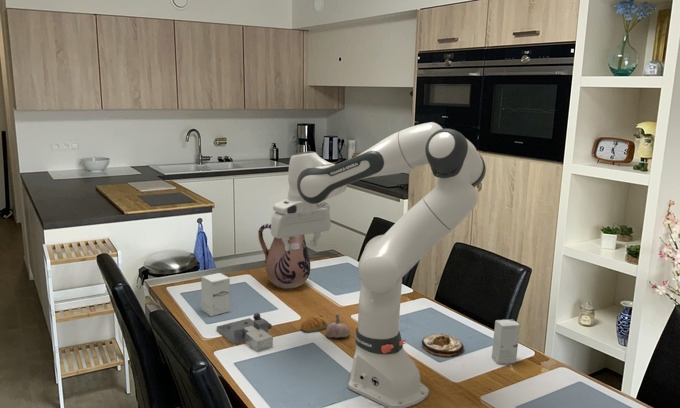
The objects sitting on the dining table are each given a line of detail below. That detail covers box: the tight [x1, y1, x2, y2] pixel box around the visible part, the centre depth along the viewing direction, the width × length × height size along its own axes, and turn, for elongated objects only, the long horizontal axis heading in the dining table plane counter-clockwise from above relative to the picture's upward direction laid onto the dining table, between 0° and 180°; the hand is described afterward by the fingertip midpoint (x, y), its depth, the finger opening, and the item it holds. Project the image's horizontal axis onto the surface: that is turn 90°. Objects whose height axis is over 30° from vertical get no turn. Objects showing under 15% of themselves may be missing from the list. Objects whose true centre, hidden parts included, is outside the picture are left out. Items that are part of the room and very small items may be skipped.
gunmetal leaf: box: [216, 317, 269, 346], centre depth 175 cm, size 12×12×4 cm
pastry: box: [300, 314, 330, 333], centre depth 181 cm, size 9×7×4 cm
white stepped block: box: [244, 326, 274, 353], centre depth 168 cm, size 10×6×4 cm, turn 38°
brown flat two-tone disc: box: [421, 333, 465, 358], centre depth 170 cm, size 15×15×4 cm
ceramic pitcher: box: [257, 223, 311, 290], centre depth 217 cm, size 18×21×25 cm
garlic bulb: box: [325, 312, 350, 339], centre depth 175 cm, size 8×7×8 cm
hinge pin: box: [253, 312, 273, 330], centre depth 182 cm, size 9×2×2 cm, turn 39°
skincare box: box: [491, 319, 521, 365], centre depth 162 cm, size 6×4×12 cm
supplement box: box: [200, 272, 231, 317], centre depth 191 cm, size 7×7×13 cm
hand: (301, 248), depth 169 cm, fingers open, 8 cm apart
